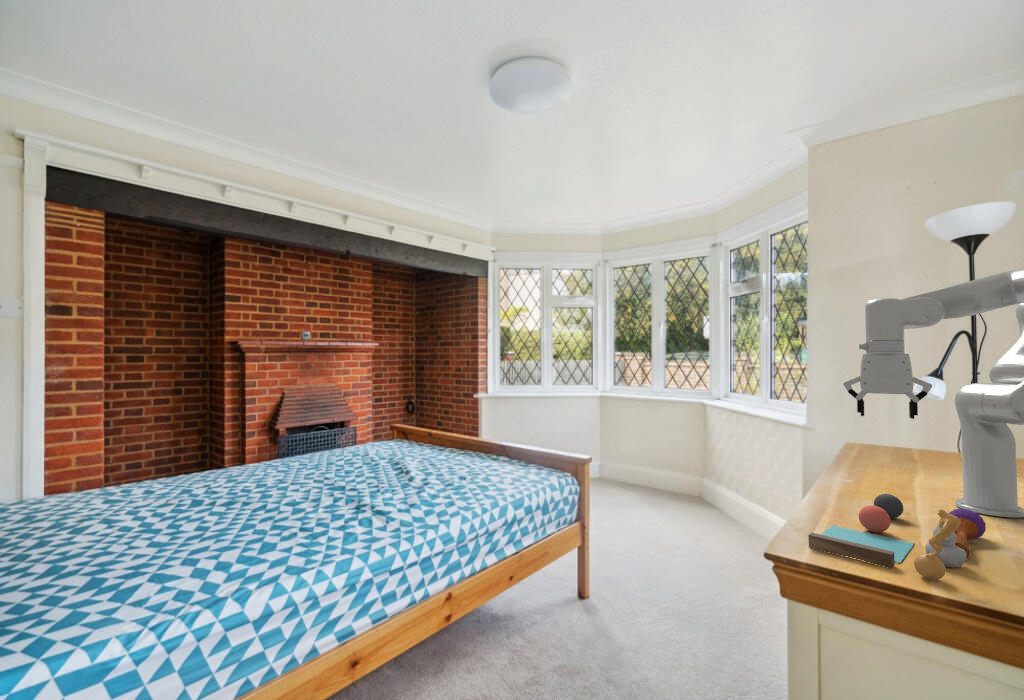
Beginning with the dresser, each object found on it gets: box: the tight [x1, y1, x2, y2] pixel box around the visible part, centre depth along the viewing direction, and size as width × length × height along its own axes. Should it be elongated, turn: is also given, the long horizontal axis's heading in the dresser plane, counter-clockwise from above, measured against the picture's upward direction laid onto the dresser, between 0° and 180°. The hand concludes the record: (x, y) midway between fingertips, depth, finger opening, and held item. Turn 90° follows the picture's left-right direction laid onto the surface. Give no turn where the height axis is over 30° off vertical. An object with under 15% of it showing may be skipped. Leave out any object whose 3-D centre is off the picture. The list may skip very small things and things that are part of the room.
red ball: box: [858, 504, 891, 533], centre depth 102 cm, size 6×6×6 cm
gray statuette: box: [924, 523, 967, 568], centre depth 85 cm, size 5×7×8 cm
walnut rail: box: [807, 532, 896, 569], centre depth 88 cm, size 2×13×2 cm, turn 41°
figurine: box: [913, 508, 960, 581], centre depth 78 cm, size 8×6×12 cm
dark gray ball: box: [873, 493, 904, 519], centre depth 111 cm, size 6×6×6 cm
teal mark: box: [821, 525, 915, 564], centre depth 95 cm, size 14×14×1 cm
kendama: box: [948, 508, 987, 560], centre depth 94 cm, size 6×6×20 cm
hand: (886, 417), depth 116 cm, fingers open, 9 cm apart
